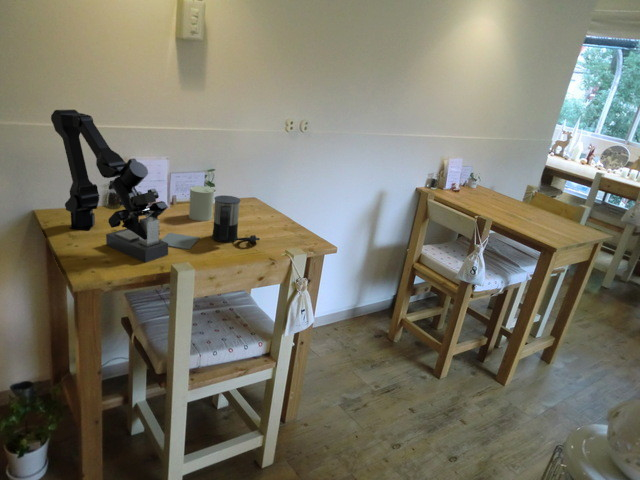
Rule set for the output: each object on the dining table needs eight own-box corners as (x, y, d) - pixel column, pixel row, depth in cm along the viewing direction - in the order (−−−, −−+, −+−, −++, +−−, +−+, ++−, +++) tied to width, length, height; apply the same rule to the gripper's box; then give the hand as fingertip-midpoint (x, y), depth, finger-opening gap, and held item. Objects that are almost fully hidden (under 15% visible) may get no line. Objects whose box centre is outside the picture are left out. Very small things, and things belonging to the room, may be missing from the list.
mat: (156, 244, 162) (156, 243, 162) (169, 233, 172) (169, 232, 172) (189, 249, 162) (189, 248, 162) (199, 238, 172) (199, 237, 172)
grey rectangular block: (139, 249, 152) (139, 219, 148) (150, 246, 155) (151, 216, 152) (147, 253, 150) (147, 222, 147) (158, 249, 154) (159, 219, 150)
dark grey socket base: (106, 245, 156) (106, 232, 154) (129, 238, 164) (129, 226, 162) (145, 262, 148) (145, 248, 147) (168, 254, 156) (168, 241, 154)
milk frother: (209, 233, 178) (211, 194, 173) (251, 232, 184) (254, 195, 179) (217, 248, 166) (220, 207, 161) (262, 247, 172) (265, 207, 167)
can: (200, 222, 187) (202, 192, 183) (183, 216, 191) (184, 186, 187) (217, 218, 194) (219, 189, 190) (200, 211, 199) (202, 183, 194)
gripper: (114, 185, 139) (140, 232, 138) (164, 176, 155) (188, 218, 154) (97, 204, 145) (122, 249, 145) (146, 194, 161) (170, 234, 160)
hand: (152, 237), depth 151 cm, fingers closed on grey rectangular block, 4 cm apart
